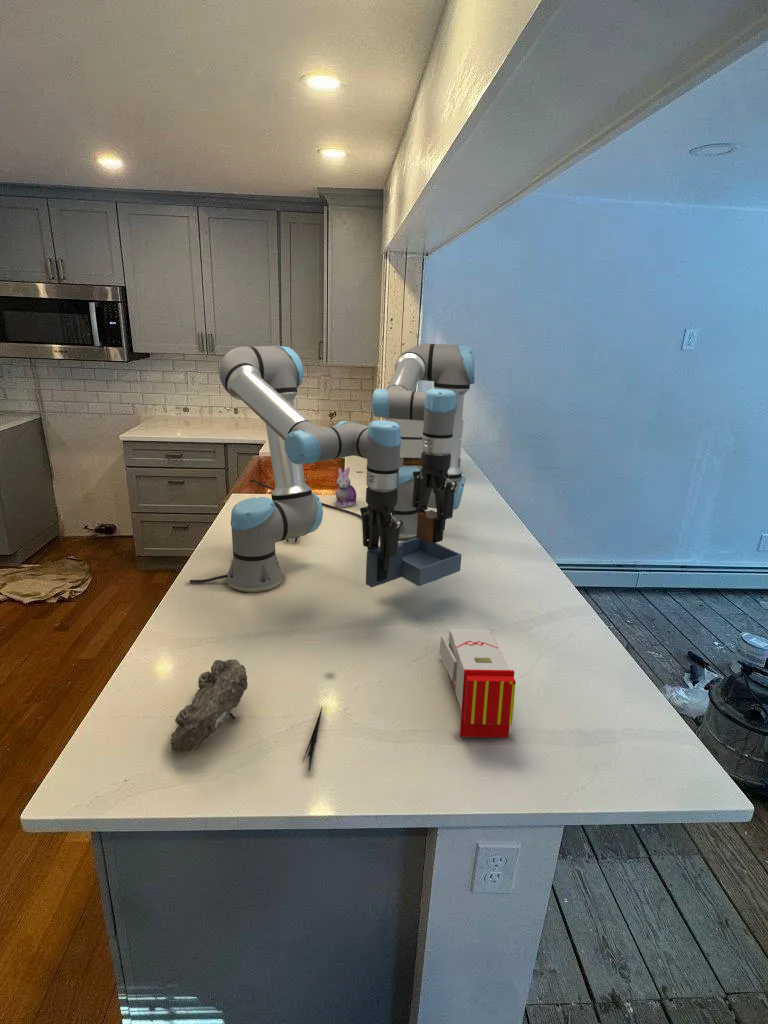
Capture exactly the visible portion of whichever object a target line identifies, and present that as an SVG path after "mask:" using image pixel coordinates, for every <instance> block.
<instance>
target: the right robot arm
mask: <svg viewBox="0 0 768 1024" xmlns="http://www.w3.org/2000/svg"><path fill="white" fill-rule="evenodd" d="M474 352H475V351H474V349H473V347H471V346H469V345H463V344H443V343H427V342H426V343H419V344H416V345H414V346H412V347H410V348H407V349H406V350H404V351H403V352H402V353H401V354H399V356H398V357H397V359H396V361H395V364H394V372H393V374H392V376H391V378H390V380H389V382H388V385H387V387H386V388H377V389H374V391H373V394H372V399H371V413H372V415H373V416H374V417H376V418H382V419H384V420H385V419H404V420H418V421H424V426H423V439H422V450H423V451H424V452H422V453H421V466H420V467H421V468H420V467H416V466H403V467H400V468H399V481H398V487H397V490H398V497H397V504H396V505H395V507H394V511H395V517H396V518H397V520H398V521H399V520H402V522H403V524H402V526H401V528H400V533H399V540H398V541H408V540H411V539H414V538H416V535H417V522H418V513H422V512H426V511H429V509H436V510H435V511H436V512H437V518H435V523H434V535H433V543H437V544H438V543H440V542H442V541H443V540H442V537H443V538H444V531H445V530H446V521H447V520H448V519H452V518H453V516H454V510H457V509H459V508H460V504H461V501H462V498H463V493H464V486H465V483H466V477H465V476H463V474H462V473H463V471H462V469H461V467H460V468H459V467H458V459H459V448H460V440H461V438H460V437H461V426H462V419H463V414H464V403H465V395H466V393H468V391H470V388H471V385H474V384H475V382H476V376H475V353H474ZM421 381H425V382H433V388H430V389H427V391H418V390H417V391H415V390H416V388H417V385H418V383H419V382H421ZM253 482H254V483H255V484H257V485H259V486H261V487H264V488H267V489H269V490H272V491H273V490H274V489H275V487H272V486H269V485H267V484H264V483H261V482H259V481H257V480H256V479H255V478H253V479H251V480H250V481H249V483H253ZM321 504H322V507H327V508H330V509H334V510H337V511H340V512H344V513H346V514H350V515H352V516H356V517H358V518H360V519H362V516H361V514H359V513H356V512H354V511H351V510H349V509H348V510H347V509H344V508H342V507H338V506H334V505H331V504H327V503H323V502H321Z"/></svg>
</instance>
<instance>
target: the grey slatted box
mask: <svg viewBox="0 0 768 1024" xmlns="http://www.w3.org/2000/svg"><path fill="white" fill-rule="evenodd" d="M384 421H392V422H396V423H398V424H399V425H400V428H401V445H400V458H399V468H400V467H416V466H417V467H421V453H422V452H424V451H423V450H422V439H423V426H424V421H418V420H404V419H385V418H384ZM463 431H464V419H463V418H462V426H461V437H460V448H459V459H458V467H459V468H460V469H461V462H462V458H461V452H462V443H463V442H462V438H463Z"/></svg>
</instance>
